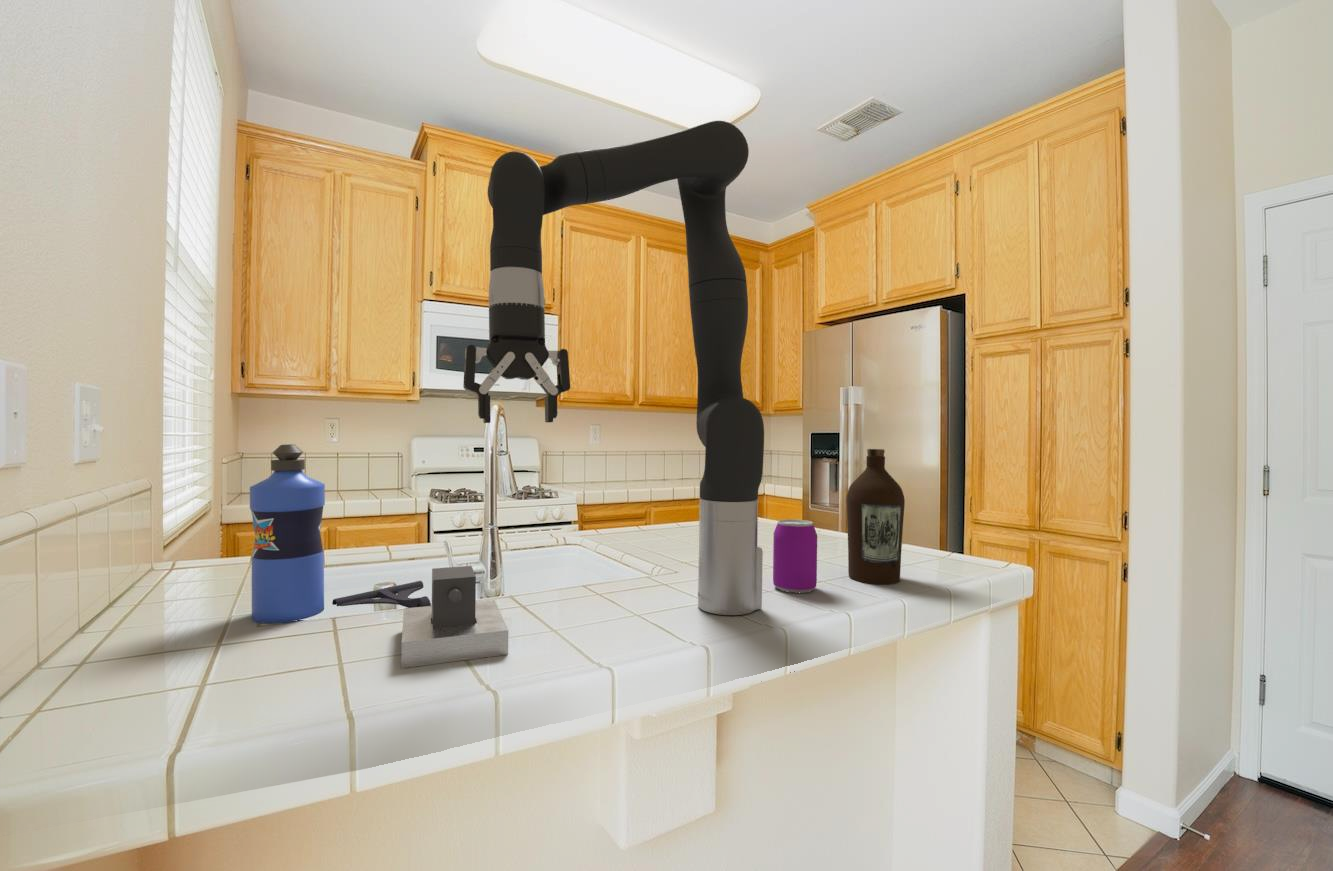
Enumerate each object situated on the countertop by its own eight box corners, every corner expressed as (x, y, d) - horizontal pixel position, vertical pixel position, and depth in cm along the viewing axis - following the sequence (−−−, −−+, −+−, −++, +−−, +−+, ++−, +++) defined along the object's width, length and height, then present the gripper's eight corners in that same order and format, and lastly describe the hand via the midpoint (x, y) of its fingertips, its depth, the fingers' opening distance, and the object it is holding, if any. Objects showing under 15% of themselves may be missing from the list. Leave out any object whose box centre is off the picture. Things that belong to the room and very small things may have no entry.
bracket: (380, 628, 84) (380, 609, 84) (332, 608, 93) (332, 590, 93) (468, 606, 95) (468, 589, 95) (418, 590, 104) (418, 574, 104)
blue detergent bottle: (271, 628, 81) (270, 446, 81) (237, 616, 86) (236, 444, 86) (338, 609, 89) (337, 444, 89) (303, 600, 94) (302, 443, 94)
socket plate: (494, 620, 86) (494, 599, 86) (508, 654, 73) (508, 630, 73) (403, 630, 81) (403, 608, 81) (401, 668, 68) (401, 642, 68)
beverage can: (796, 596, 101) (797, 526, 101) (763, 587, 107) (764, 520, 107) (825, 590, 105) (826, 522, 105) (792, 581, 111) (793, 517, 111)
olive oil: (839, 571, 120) (841, 448, 120) (892, 572, 120) (894, 448, 119) (853, 584, 109) (855, 449, 109) (911, 586, 109) (914, 450, 109)
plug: (470, 624, 81) (471, 565, 81) (476, 643, 74) (476, 579, 74) (431, 628, 79) (432, 568, 79) (432, 648, 72) (433, 582, 72)
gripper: (561, 314, 89) (562, 423, 89) (460, 307, 83) (462, 423, 83) (574, 304, 82) (575, 422, 82) (465, 296, 76) (467, 422, 76)
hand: (518, 422), depth 83 cm, fingers open, 8 cm apart
